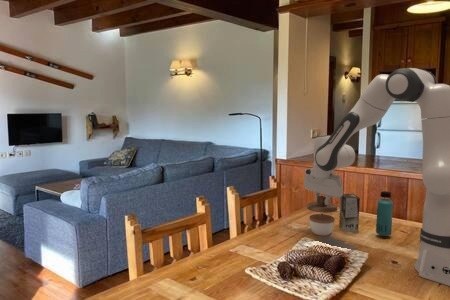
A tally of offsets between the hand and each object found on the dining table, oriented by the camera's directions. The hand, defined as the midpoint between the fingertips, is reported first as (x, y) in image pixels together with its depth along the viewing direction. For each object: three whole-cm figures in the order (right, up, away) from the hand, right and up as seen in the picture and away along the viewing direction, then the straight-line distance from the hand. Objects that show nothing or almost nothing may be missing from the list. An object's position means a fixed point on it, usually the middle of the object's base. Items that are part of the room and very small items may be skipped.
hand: (322, 203), depth 167 cm
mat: (-1, -16, -14) cm, 21 cm away
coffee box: (+14, -14, +7) cm, 21 cm away
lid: (0, -2, 0) cm, 2 cm away
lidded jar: (0, -14, +2) cm, 14 cm away
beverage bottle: (+26, -15, -1) cm, 30 cm away
